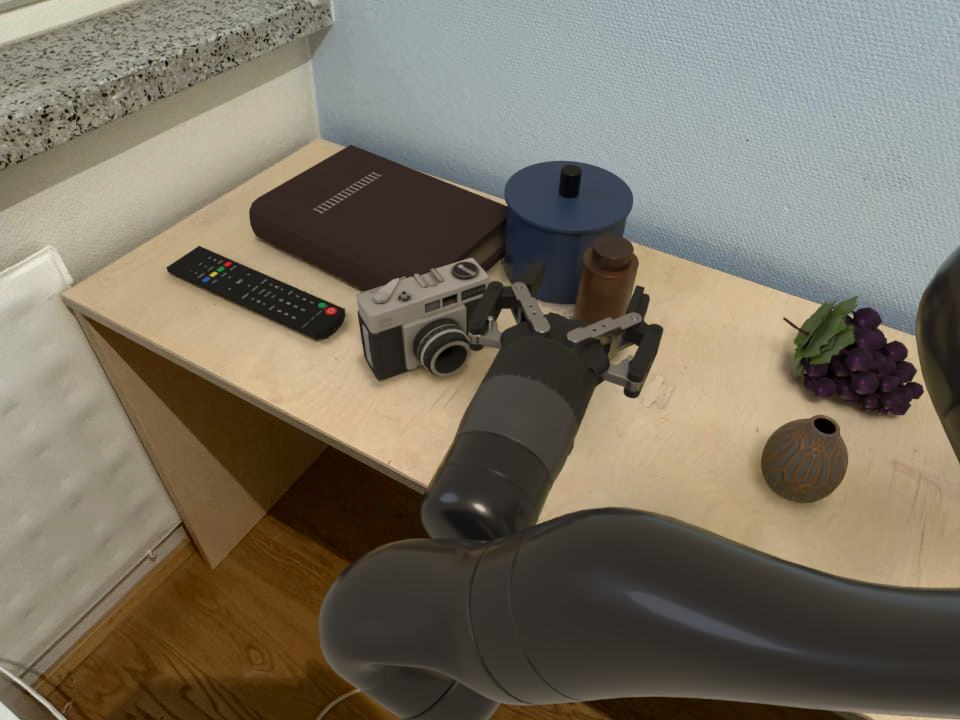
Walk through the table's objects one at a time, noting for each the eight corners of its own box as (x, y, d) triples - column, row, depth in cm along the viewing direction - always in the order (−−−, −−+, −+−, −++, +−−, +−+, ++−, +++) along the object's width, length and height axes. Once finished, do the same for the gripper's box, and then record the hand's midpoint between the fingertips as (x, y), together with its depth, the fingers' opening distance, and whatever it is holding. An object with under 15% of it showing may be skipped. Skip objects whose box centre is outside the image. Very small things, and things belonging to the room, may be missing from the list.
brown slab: (255, 243, 88) (245, 205, 84) (355, 181, 100) (350, 144, 95) (422, 328, 77) (420, 289, 73) (513, 247, 89) (516, 209, 84)
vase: (759, 443, 66) (790, 384, 60) (832, 471, 64) (872, 412, 58) (744, 496, 62) (776, 438, 56) (822, 527, 60) (864, 470, 54)
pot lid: (648, 188, 81) (655, 157, 78) (605, 253, 72) (612, 220, 69) (535, 157, 86) (538, 127, 83) (481, 215, 76) (482, 183, 73)
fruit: (869, 453, 70) (743, 373, 72) (897, 381, 75) (778, 309, 77) (942, 414, 61) (795, 324, 63) (969, 336, 66) (831, 255, 68)
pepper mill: (625, 337, 77) (649, 239, 67) (609, 368, 73) (631, 270, 64) (580, 322, 79) (596, 224, 69) (562, 351, 75) (576, 253, 65)
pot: (628, 255, 88) (644, 184, 80) (590, 317, 79) (604, 245, 72) (531, 225, 92) (537, 156, 85) (485, 281, 84) (487, 209, 76)
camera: (381, 405, 69) (371, 332, 62) (360, 349, 75) (349, 277, 68) (505, 372, 73) (509, 299, 66) (476, 321, 79) (476, 250, 72)
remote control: (201, 254, 86) (198, 245, 85) (349, 319, 78) (348, 310, 77) (169, 276, 83) (166, 267, 82) (320, 346, 75) (318, 337, 74)
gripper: (634, 414, 41) (683, 266, 52) (427, 350, 45) (512, 224, 56) (616, 483, 47) (663, 335, 57) (432, 421, 51) (508, 293, 61)
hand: (588, 281), depth 56 cm, fingers open, 8 cm apart
